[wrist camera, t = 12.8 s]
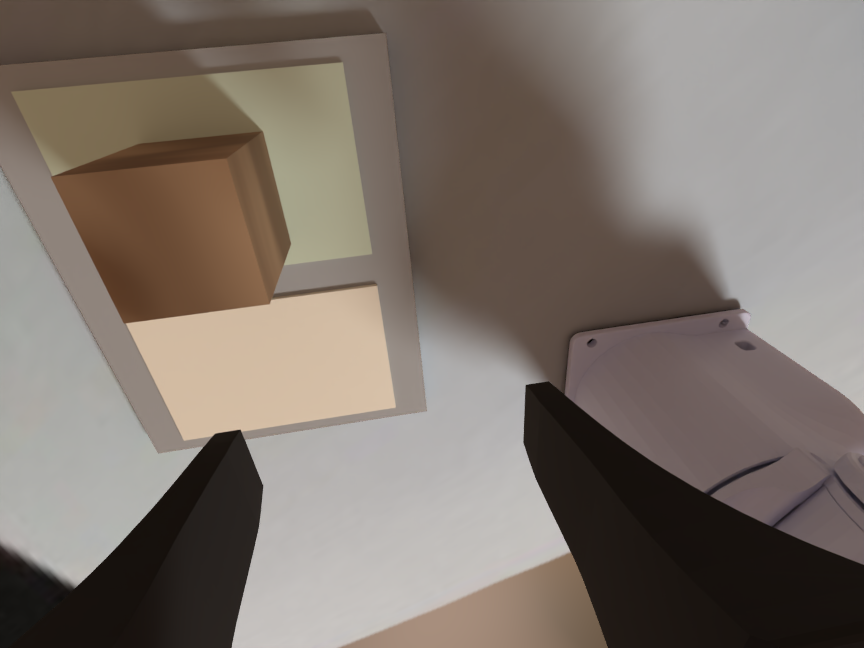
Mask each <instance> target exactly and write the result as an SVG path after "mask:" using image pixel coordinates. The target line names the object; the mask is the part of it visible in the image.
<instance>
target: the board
mask: <svg viewBox="0 0 864 648" xmlns="http://www.w3.org/2000/svg"><path fill="white" fill-rule="evenodd" d="M260 131H263V133H264V137H265V141H266V145H267V149H268V153H269V157H270V161H271V165H272V169H273V173H274V177H275V181H276V185H277V189H278V193H279V197H280V201H281V205H282V209H283V213H284V217H285V221H286V225H287V229H288V233H289V237H290V241H291V246H290V249H289V252H288V254H287V257H286V260H285V263H284V266H283V268H282V271H281V274H280V277H279V280H278V283H277V285H276V288H275V291H274V294H273V297H272V299H271V302H270V304H268V305H260V306H253V307H245V308H238V309H230V310H223V311H215V312H208V313H200V314H193V315H185V316H178V317H170V318H163V319H155V320H148V321H140V322H133V323H126V324H124V323H123V321H122V319H121V317H120V315H119V313H118V311H117V309H116V307H115V305H114V303H113V301H112V299H111V297H110V295H109V293H108V291H107V289H106V287H105V285H104V283H103V281H102V279H101V277H100V275H99V273H98V271H97V269H96V267H95V265H94V263H93V261H92V259H91V257H90V255H89V253H88V251H87V249H86V247H85V245H84V243H83V241H82V239H81V237H80V235H79V233H78V231H77V229H76V227H75V225H74V223H73V221H72V219H71V217H70V215H69V213H68V211H67V209H66V207H65V205H64V203H63V201H62V199H61V197H60V195H59V193H58V191H57V189H56V187H55V185H54V183H53V181H52V179H51V177H52V176H54V175H57V174H60V173H62V172H65V171H68V170H70V169H73V168H76V167H78V166H81V165H84V164H86V163H89V162H92V161H94V160H97V159H100V158H102V157H105V156H108V155H110V154H113V153H116V152H118V151H121V150H124V149H126V148H129V147H132V146H134V145H137V144H142V143H152V142H162V141H171V140H181V139H191V138H201V137H211V136H221V135H231V134H241V133H251V132H260ZM0 166H1V167H2V169H3V171H4V173H5V175H6V177H7V178H8V180H9V182H10V184H11V186H12V188H13V189H14V191H15V193H16V195H17V197H18V198H19V200H20V202H21V204H22V206H23V208H24V209H25V211H26V213H27V215H28V217H29V219H30V220H31V222H32V224H33V226H34V228H35V230H36V231H37V233H38V235H39V237H40V239H41V240H42V242H43V244H44V246H45V248H46V250H47V251H48V253H49V255H50V257H51V259H52V261H53V262H54V264H55V266H56V268H57V270H58V272H59V273H60V275H61V277H62V279H63V281H64V282H65V284H66V286H67V288H68V290H69V292H70V293H71V295H72V297H73V299H74V301H75V303H76V304H77V306H78V308H79V310H80V312H81V314H82V315H83V317H84V319H85V321H86V323H87V324H88V326H89V328H90V330H91V332H92V334H93V335H94V337H95V339H96V341H97V343H98V345H99V346H100V348H101V350H102V352H103V354H104V356H105V357H106V359H107V361H108V363H109V365H110V366H111V368H112V370H113V372H114V374H115V376H116V377H117V379H118V381H119V383H120V385H121V387H122V388H123V390H124V392H125V394H126V396H127V398H128V399H129V401H130V403H131V405H132V407H133V408H134V410H135V412H136V414H137V416H138V418H139V419H140V421H141V423H142V425H143V427H144V429H145V430H146V432H147V434H148V436H149V438H150V439H151V441H152V443H153V445H154V447H155V449H156V450H157V452H158V453H164V452H170V451H176V450H183V449H189V448H195V447H202V446H205V445H206V444H207V442H208V441H209V440H210V439H211V438H212V436H213V435H214V434H215V433H221V432H228V431H234V430H241V432H242V434H243V437H244V439H245V440H246V439H252V438H259V437H265V436H271V435H278V434H284V433H290V432H297V431H303V430H309V429H316V428H322V427H328V426H335V425H341V424H347V423H354V422H360V421H366V420H373V419H379V418H385V417H392V416H398V415H404V414H411V413H417V412H423V411H427V407H426V398H425V389H424V380H423V370H422V361H421V352H420V343H419V333H418V324H417V315H416V306H415V297H414V287H413V278H412V269H411V260H410V250H409V241H408V232H407V223H406V214H405V204H404V195H403V186H402V177H401V167H400V158H399V149H398V140H397V130H396V121H395V112H394V103H393V94H392V84H391V75H390V66H389V57H388V47H387V38H386V33H379V34H367V35H355V36H343V37H331V38H319V39H307V40H295V41H283V42H271V43H259V44H247V45H235V46H224V47H212V48H200V49H188V50H176V51H164V52H152V53H140V54H128V55H116V56H104V57H92V58H81V59H69V60H57V61H45V62H33V63H21V64H9V65H0Z"/></svg>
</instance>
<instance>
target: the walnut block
mask: <svg viewBox="0 0 864 648" xmlns="http://www.w3.org/2000/svg"><path fill="white" fill-rule="evenodd" d="M51 179H52V181H53V183H54V185H55V187H56V189H57V191H58V193H59V195H60V197H61V199H62V201H63V203H64V205H65V207H66V209H67V211H68V213H69V215H70V217H71V219H72V221H73V223H74V225H75V227H76V229H77V231H78V233H79V235H80V237H81V239H82V241H83V243H84V245H85V247H86V249H87V251H88V253H89V255H90V257H91V259H92V261H93V263H94V265H95V267H96V269H97V271H98V273H99V275H100V277H101V279H102V281H103V283H104V285H105V287H106V289H107V291H108V293H109V295H110V297H111V299H112V301H113V303H114V305H115V307H116V309H117V311H118V313H119V315H120V317H121V319H122V321H123V323H124V324H126V323H133V322H140V321H148V320H155V319H163V318H170V317H178V316H185V315H193V314H200V313H208V312H215V311H223V310H230V309H238V308H245V307H253V306H260V305H268V304H270V302H271V299H272V297H273V294H274V291H275V288H276V285H277V283H278V280H279V277H280V274H281V271H282V268H283V266H284V263H285V260H286V257H287V254H288V252H289V249H290V246H291V241H290V237H289V233H288V229H287V225H286V221H285V217H284V213H283V209H282V205H281V201H280V197H279V193H278V189H277V185H276V181H275V177H274V173H273V169H272V165H271V161H270V157H269V153H268V149H267V145H266V141H265V137H264V133H263V131H260V132H251V133H241V134H231V135H221V136H211V137H201V138H191V139H181V140H171V141H162V142H152V143H142V144H137V145H134V146H132V147H129V148H126V149H124V150H121V151H118V152H116V153H113V154H110V155H108V156H105V157H102V158H100V159H97V160H94V161H92V162H89V163H86V164H84V165H81V166H78V167H76V168H73V169H70V170H68V171H65V172H62V173H60V174H57V175H54V176H52V177H51Z"/></svg>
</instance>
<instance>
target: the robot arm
mask: <svg viewBox="0 0 864 648" xmlns="http://www.w3.org/2000/svg"><path fill="white" fill-rule="evenodd" d="M750 319H751V315H750V313H749V312H747V311H745V310H744V309H736V310H729V311H722V312H715V313H709V314H702V315H695V316H688V317H681V318H675V319H668V320H661V321H654V322H647V323H641V324H634V325H627V326H620V327H613V328H607V329H600V330H593V331H586V332H580V333H577V334H575V335H574V336H573V337H572V338H571V340H570V345H569V355H568V366H567V376H566V386H565V395H564V394H563V393H562V392H561V391H560V390H558V389H557V388H556V387H555V386H554V385H552V384H551V383H550V382H549V381H548V382H542V383H536V384H529V385H526V392H525V417H524V445H525V448H526V451H527V455H528V458H529V461H530V464H531V466H532V469H533V472H534V475H535V478H536V480H537V482H538V484H539V486H540V489H541V491H542V493H543V495H544V497H545V499H546V501H547V503H548V505H549V508H550V510H551V512H552V514H553V516H554V518H555V520H556V522H557V524H558V526H559V528H560V530H561V532H562V534H563V537H564V539H565V541H566V543H567V545H568V547H569V549H570V551H571V553H572V555H573V557H574V559H575V562H576V564H577V566H578V569H579V571H580V573H581V576H582V578H583V581H584V583H585V586H586V589H587V591H588V594H589V597H590V599H591V602H592V604H593V607H594V610H595V612H596V615H597V618H598V621H599V623H600V626H601V629H602V632H603V635H604V638H605V640H606V643H607V646H608V648H864V414H863V413H862V412H861V411H860V409H859V408H858V407H857V406H856V405H855V404H853V403H852V402H851V401H850V400H849V399H848V398H847V397H845V396H844V395H843V394H841V393H840V392H839V391H837V390H836V389H834V388H833V387H831V386H830V385H828V384H827V383H825V382H824V381H823V380H821V379H820V378H818V377H817V376H815V375H814V374H812V373H811V372H809V371H808V370H806V369H805V368H803V367H802V366H801V365H799V364H798V363H796V362H795V361H793V360H792V359H790V358H789V357H787V356H786V355H784V354H783V353H781V352H780V351H778V350H777V349H776V348H774V347H773V346H771V345H770V344H768V343H767V342H765V341H764V340H762V339H761V338H759V337H758V336H756V335H755V334H754V333H752V332H751V331H749V330H748V329H747V328H748V325H749V322H750ZM721 321H722V322H721ZM590 339H593V341H592V342H590V343H587V342H588V341H589V340H590ZM262 493H263V484H262V482H261V479H260V477H259V474H258V472H257V469H256V467H255V464H254V462H253V459H252V457H251V454H250V452H249V449H248V447H247V444H246V442H245V439H244V437H243V434H242V432H241V430H234V431H228V432H221V433H215V434H214V435H213V436H212V438H211V439H210V440H209V441H208V442H207V444H206V445H205V446H204V447H203V448H202V450H201V451H200V452H199V453H198V455H197V456H196V457H195V458H194V459H193V461H192V462H191V463H190V464H189V465H188V467H187V468H186V469H185V470H184V472H183V473H182V474H181V475H180V476H179V478H178V479H177V480H176V481H175V482H174V484H173V485H172V486H171V487H170V488H169V490H168V491H167V492H166V493H165V494H164V495H163V497H162V498H161V499H160V500H159V501H158V502H157V504H156V505H155V506H154V507H153V508H152V509H151V511H150V512H149V513H148V514H147V515H146V516H145V517H144V518H143V519H142V520H141V521H140V523H139V524H138V525H137V526H136V527H135V528H134V529H133V530H132V531H131V532H130V533H129V535H128V536H127V537H126V538H125V539H124V540H123V541H122V542H121V543H120V544H119V546H118V547H117V548H116V549H115V550H114V551H113V552H112V553H111V554H110V555H109V556H108V557H107V558H106V559H105V560H104V561H103V562H102V563H101V564H100V565H99V566H98V567H97V568H96V569H95V570H94V571H93V572H92V573H91V574H90V575H89V576H88V577H87V578H86V579H85V580H83V581H82V582H81V583H80V584H79V585H78V586H77V587H76V588H75V589H74V590H73V591H72V592H71V593H70V594H69V595H68V596H67V597H66V598H64V599H63V600H62V601H61V602H60V603H59V604H58V605H57V606H56V607H55V608H53V609H52V610H51V611H50V612H49V613H48V614H46V615H45V616H44V617H43V618H42V619H41V620H40V621H38V622H37V623H36V624H35V625H34V626H33V627H32V628H30V629H29V630H28V631H27V632H26V633H25V634H23V635H22V636H21V637H20V638H19V639H18V640H17V641H15V642H14V643H13V644H12V645H11V646H10V647H9V648H232V642H233V637H234V632H235V627H236V622H237V618H238V614H239V609H240V605H241V601H242V597H243V593H244V588H245V584H246V580H247V576H248V572H249V567H250V563H251V559H252V555H253V550H254V546H255V542H256V537H257V533H258V528H259V521H260V513H261V504H262Z"/></svg>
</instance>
